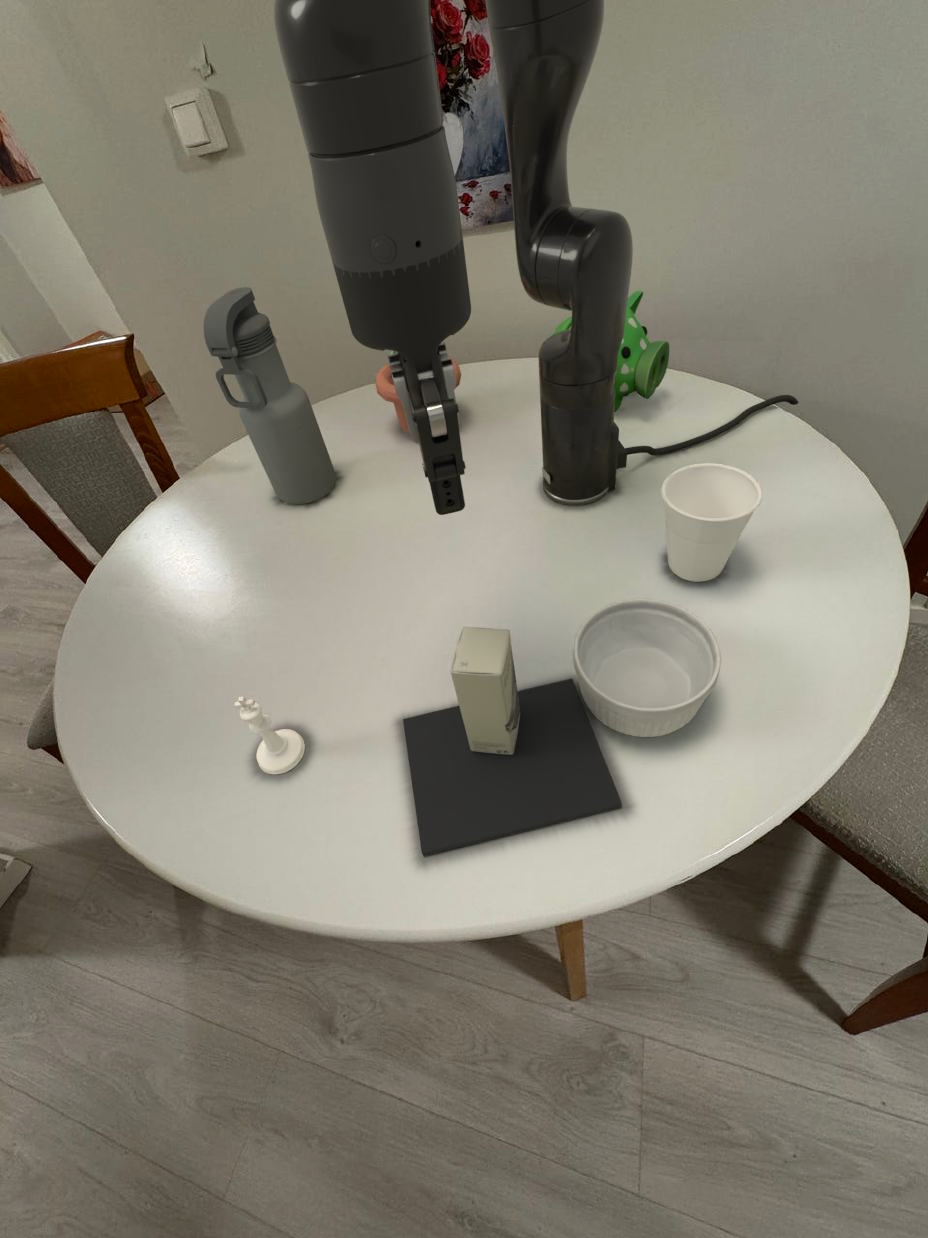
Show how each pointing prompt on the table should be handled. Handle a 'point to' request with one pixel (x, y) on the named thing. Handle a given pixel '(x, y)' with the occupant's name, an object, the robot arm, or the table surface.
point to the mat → (507, 772)
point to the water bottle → (268, 399)
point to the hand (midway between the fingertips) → (444, 488)
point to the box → (487, 689)
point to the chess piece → (271, 740)
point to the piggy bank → (635, 356)
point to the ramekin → (645, 665)
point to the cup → (706, 516)
